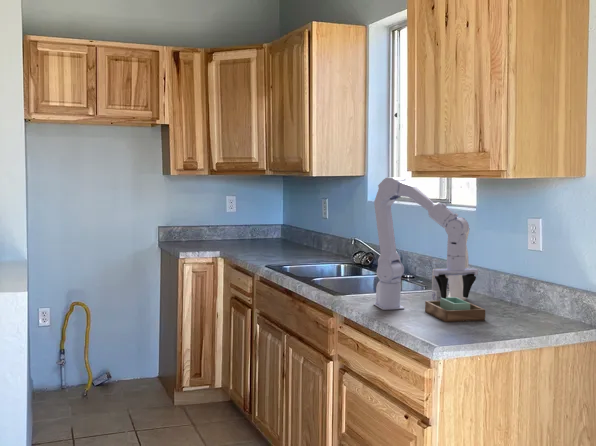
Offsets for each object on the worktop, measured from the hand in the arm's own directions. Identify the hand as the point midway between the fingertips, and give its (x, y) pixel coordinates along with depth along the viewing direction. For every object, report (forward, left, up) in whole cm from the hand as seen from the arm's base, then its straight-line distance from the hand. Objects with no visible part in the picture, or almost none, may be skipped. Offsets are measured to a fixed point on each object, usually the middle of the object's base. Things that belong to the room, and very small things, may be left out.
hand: (454, 297), depth 220 cm
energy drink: (-20, +4, -6) cm, 21 cm away
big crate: (0, 0, -6) cm, 6 cm away
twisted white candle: (-27, +14, -6) cm, 31 cm away
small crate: (0, 0, -5) cm, 5 cm away
